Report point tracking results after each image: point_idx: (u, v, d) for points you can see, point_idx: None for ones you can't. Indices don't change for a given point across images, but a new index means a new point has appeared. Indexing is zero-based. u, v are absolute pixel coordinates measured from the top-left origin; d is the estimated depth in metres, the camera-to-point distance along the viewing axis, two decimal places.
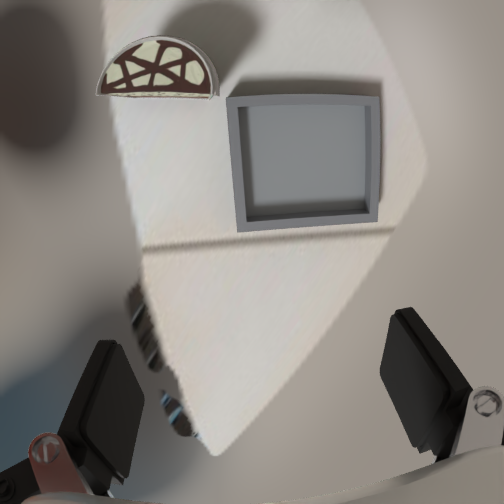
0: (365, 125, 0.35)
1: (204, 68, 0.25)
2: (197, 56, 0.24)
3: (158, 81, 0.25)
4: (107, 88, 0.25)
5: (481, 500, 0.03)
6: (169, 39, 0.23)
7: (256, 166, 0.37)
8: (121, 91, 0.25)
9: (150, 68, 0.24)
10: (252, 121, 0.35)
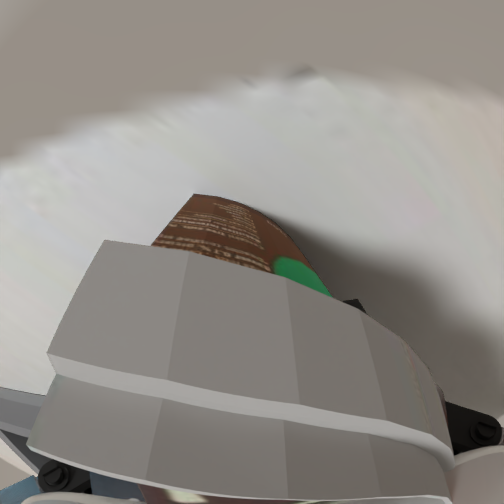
0: None
1: None
2: None
3: None
4: None
5: (481, 500, 0.03)
6: None
7: None
8: (142, 485, 0.03)
9: None
10: None
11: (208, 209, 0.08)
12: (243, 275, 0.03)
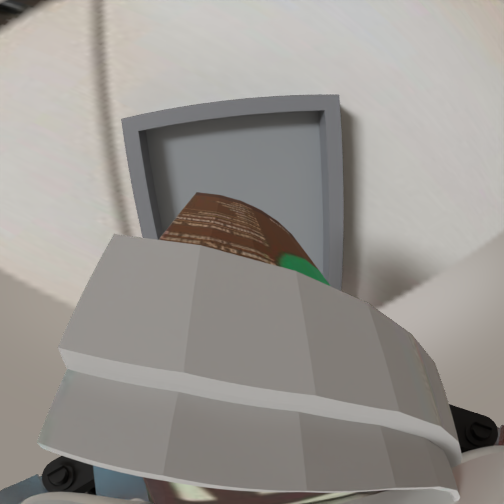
0: None
1: None
2: None
3: None
4: None
5: (481, 500, 0.03)
6: None
7: (226, 138, 0.23)
8: (150, 484, 0.03)
9: None
10: (296, 130, 0.23)
11: (212, 207, 0.08)
12: (255, 268, 0.03)
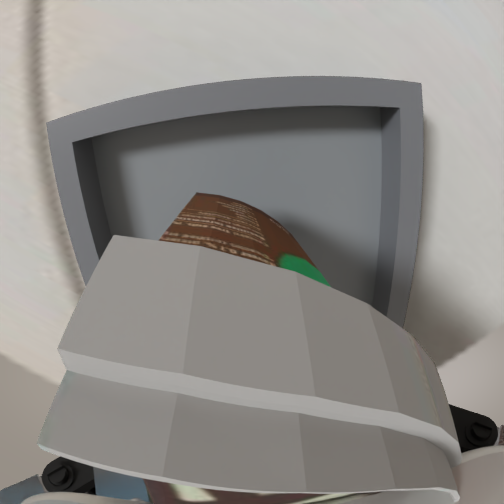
0: None
1: None
2: None
3: None
4: None
5: (481, 500, 0.03)
6: None
7: (226, 150, 0.13)
8: (150, 484, 0.03)
9: None
10: (346, 139, 0.13)
11: (211, 207, 0.08)
12: (254, 269, 0.03)
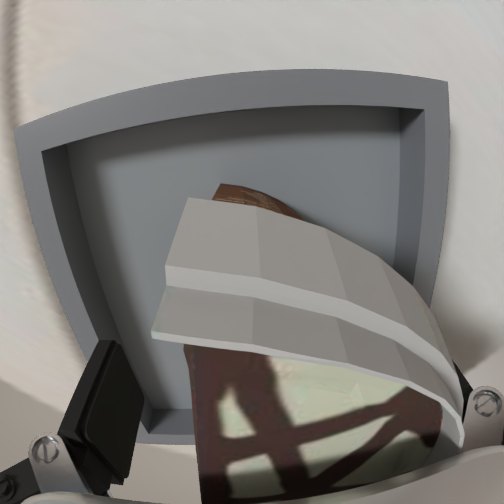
0: None
1: None
2: None
3: None
4: (226, 356, 0.03)
5: (481, 500, 0.03)
6: None
7: (220, 158, 0.11)
8: (199, 419, 0.04)
9: (308, 485, 0.05)
10: (361, 144, 0.11)
11: (238, 194, 0.09)
12: (295, 224, 0.04)
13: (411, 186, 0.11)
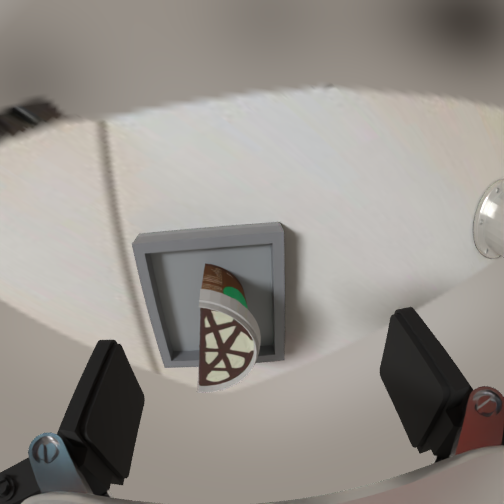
0: None
1: (221, 382, 0.31)
2: (233, 377, 0.31)
3: (209, 355, 0.29)
4: (205, 310, 0.27)
5: (481, 500, 0.03)
6: (252, 363, 0.30)
7: (205, 255, 0.35)
8: (201, 323, 0.28)
9: (223, 347, 0.29)
10: (254, 250, 0.35)
11: (210, 272, 0.33)
12: (216, 292, 0.28)
13: (272, 265, 0.35)
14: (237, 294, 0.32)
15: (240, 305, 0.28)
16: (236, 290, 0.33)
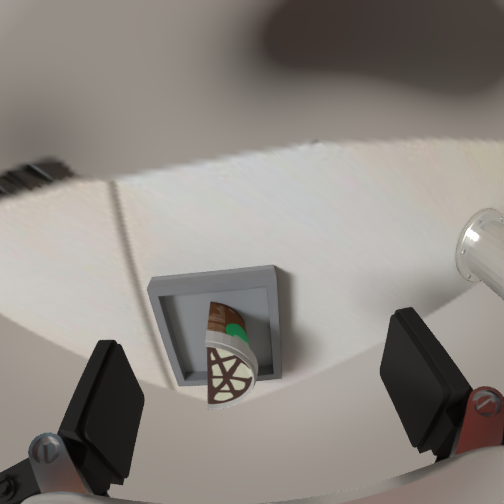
0: None
1: (226, 401, 0.37)
2: (236, 397, 0.36)
3: (216, 380, 0.35)
4: (211, 348, 0.33)
5: (481, 500, 0.03)
6: (251, 386, 0.35)
7: (210, 295, 0.41)
8: (207, 357, 0.33)
9: (227, 374, 0.35)
10: (252, 289, 0.41)
11: (214, 311, 0.39)
12: (219, 333, 0.33)
13: None
14: (238, 329, 0.38)
15: (239, 342, 0.34)
16: (237, 325, 0.38)
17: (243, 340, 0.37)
